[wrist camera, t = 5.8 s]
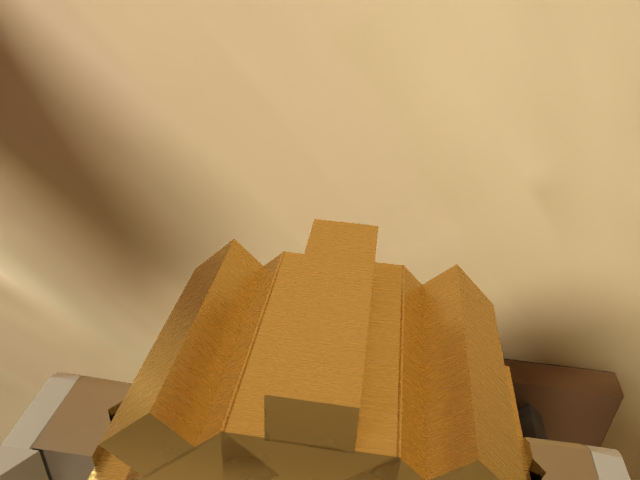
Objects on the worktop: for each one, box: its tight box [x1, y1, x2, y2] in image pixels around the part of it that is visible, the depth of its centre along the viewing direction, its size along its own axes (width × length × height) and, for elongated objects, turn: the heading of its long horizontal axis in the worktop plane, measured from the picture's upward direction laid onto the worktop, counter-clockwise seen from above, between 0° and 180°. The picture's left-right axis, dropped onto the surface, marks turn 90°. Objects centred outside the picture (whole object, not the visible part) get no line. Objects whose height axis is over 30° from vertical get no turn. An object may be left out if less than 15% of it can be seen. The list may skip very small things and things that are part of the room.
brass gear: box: [88, 219, 531, 480], centre depth 10 cm, size 7×7×4 cm
